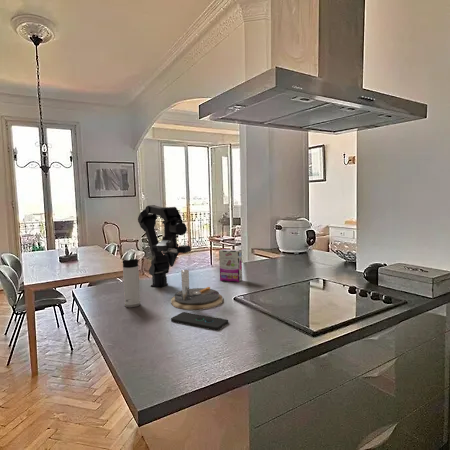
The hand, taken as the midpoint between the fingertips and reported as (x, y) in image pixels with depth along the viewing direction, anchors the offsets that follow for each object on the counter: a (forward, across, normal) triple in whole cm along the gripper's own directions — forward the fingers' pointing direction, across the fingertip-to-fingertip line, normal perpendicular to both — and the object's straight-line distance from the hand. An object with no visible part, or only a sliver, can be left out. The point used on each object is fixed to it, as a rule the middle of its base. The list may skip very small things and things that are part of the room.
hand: (171, 266), depth 166 cm
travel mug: (+12, -4, -24) cm, 27 cm away
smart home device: (+13, +32, -30) cm, 46 cm away
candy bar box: (+12, +18, +28) cm, 36 cm away
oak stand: (+12, +19, -9) cm, 24 cm away
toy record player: (+11, +19, -9) cm, 23 cm away
